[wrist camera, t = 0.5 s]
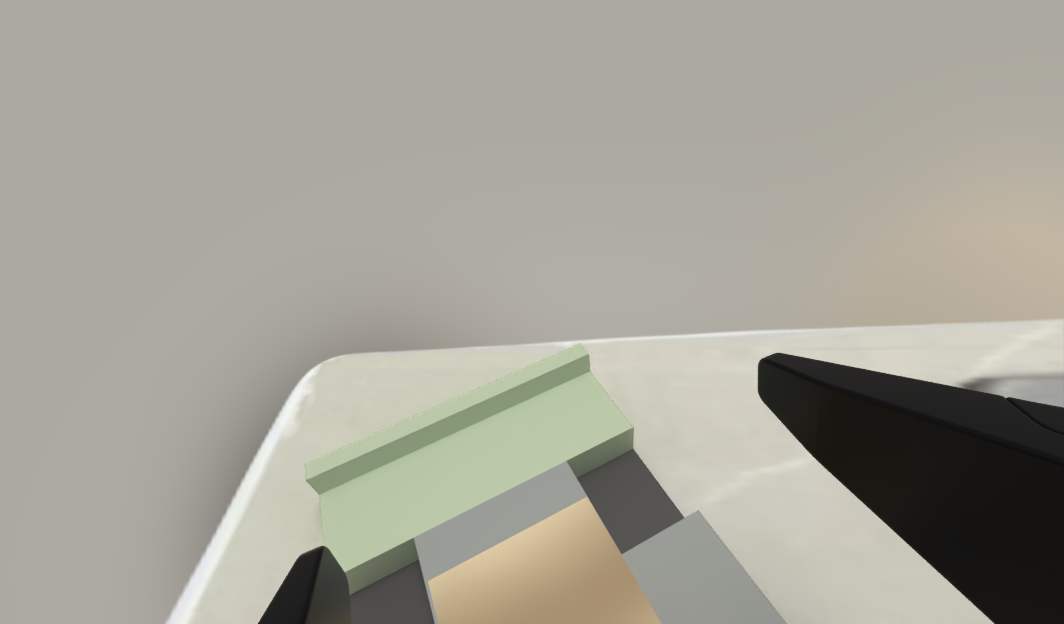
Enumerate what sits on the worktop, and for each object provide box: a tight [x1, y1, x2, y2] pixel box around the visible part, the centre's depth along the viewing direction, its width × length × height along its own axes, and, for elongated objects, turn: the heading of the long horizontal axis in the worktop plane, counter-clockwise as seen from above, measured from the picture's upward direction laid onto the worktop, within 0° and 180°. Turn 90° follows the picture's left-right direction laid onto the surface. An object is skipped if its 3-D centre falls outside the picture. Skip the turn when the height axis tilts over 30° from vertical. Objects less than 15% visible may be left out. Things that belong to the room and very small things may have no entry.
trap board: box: [305, 343, 786, 624], centre depth 19 cm, size 18×16×4 cm
